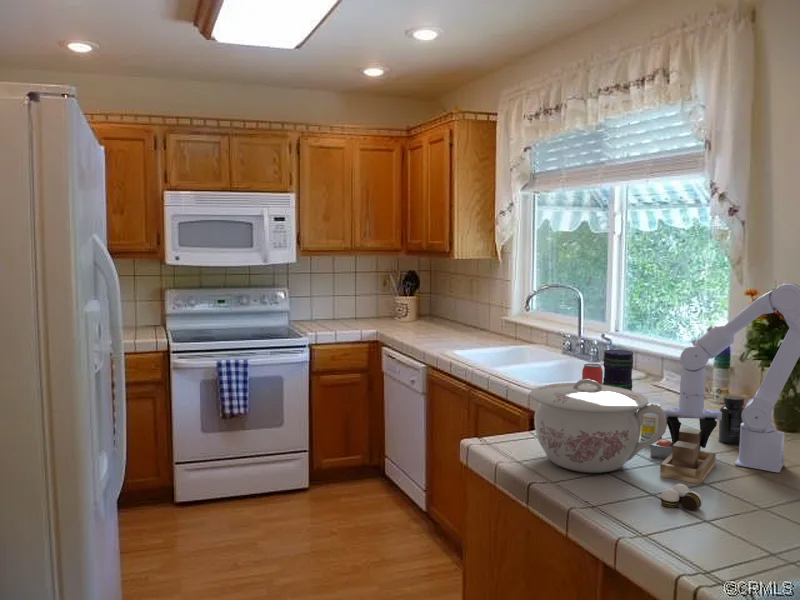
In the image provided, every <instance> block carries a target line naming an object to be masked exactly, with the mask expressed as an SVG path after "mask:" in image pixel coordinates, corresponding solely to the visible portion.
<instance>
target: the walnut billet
mask: <svg viewBox="0 0 800 600" xmlns="http://www.w3.org/2000/svg"><path fill="white" fill-rule="evenodd" d="M672 465H675V466H681V467H686V468H691V469H696V470H697V467H698V444H694V443H688V442H682V441H677V442H676V443H675V444H674V445H673V454H672Z"/></svg>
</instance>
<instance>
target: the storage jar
mask: <svg viewBox="0 0 800 600" xmlns="http://www.w3.org/2000/svg"><path fill="white" fill-rule="evenodd" d="M603 354H604V355H603V369H604V370H603V383H602V384H603V385H610V386H616V387H620V388H625V389H628V390H631V391H633V379H632V378H633V369H634V365H633V364H634V352H633V351H630V350H624V349H607V350H604V351H603Z"/></svg>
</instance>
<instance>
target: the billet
mask: <svg viewBox="0 0 800 600" xmlns="http://www.w3.org/2000/svg"><path fill="white" fill-rule="evenodd" d="M679 441H682V442H688V443H694V444H698V450H700V451H701V448H702V447H701V430H700V429H695V428H689V427H684V426H683V427H680V431H679Z"/></svg>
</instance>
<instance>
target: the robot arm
mask: <svg viewBox="0 0 800 600" xmlns="http://www.w3.org/2000/svg"><path fill="white" fill-rule="evenodd" d="M776 311H778V312H779V313H780V314H781V315H782V316H783V318H784V320H785V322H786V324H787V325H788V330H787V332H786V334H785V336H784V338H783V340H782V342H781V343H780V347H779V348H778V350H777V352H776V354H775V356H774V358H773V360H772V362H771V364H770V366H769V368H768V370H767V372H766V374H765V375H764V377H763V380H762V382H761V384H760V386H758V387H759V388H758V389H757V391H756V393H755V395H754V396H753V397H751V398H750V399H749V400H747V402H746V403H745V404H744V409H743V411H742V415H741V417H742V421H743V423H741V427H740V445H738V446H739V448H738V451H739V452H738V457H737V459H736V460H735V462H734V466H739V467H744V468H750V469H756V470H760V471H761V470H762V471H767V472H773V473H780V472H781V470H782V468H783V466H784V464H785V456H784V455H785V454H784V453H785V437H786V436H785V432H783V431H779V430H775V428H776V427H775V426H774V425H773V423H772V421H773V417H774V415H775V405H776V404H777V401H778V399H779V397H780V395H781V393H782V391H783V389H784V387H785V385H786V383H787V382H788V380H789V378H790V377H791V374H792V372H793V370H794V368H795V366H796V364H797V362H798V360H799V358H800V285H798V284H797V283H794V282H783V283H781V284H779V285H778V286H776V288H775V289H772V290H770V291H769V292H766V293H764V294H763V295H761V296H759V297H758V298H756V299H755V300H754V301H753V302H751V303H750V304H749V305H748V306H746V307H745V308H744V309H743V310H742V311H741V312H739V313H738V314H737V315H735V316H734V317H733V318H731V320H730V321H728V322H727V323H726V324H715V325H714V326H713V325H710V326H708V327H707V328H706V332H705V333H704V334H702V335H701V336H700V337H699V338H697V339H693V340H692V341H691V344H692V345H689V346H687V347H685V348H684V350H683V351H681V354H680V357H679V361H680V364H681V368H680V369H681V373H680V377H679V378H680V380H679V381H680V382H679V399H678V407H672V408H671V407H670V408H662V410H663V411H664V413H665V415H666V417H667V428H668V429H669V433H670V437H671V442H672V443H676V442H677V441H679V431H680V429H681V426H682V422H681V421H680V419H699V430H701V448H702V449H705V448H706V447H707V444H708V441H709V438H710V436H711V434H712V432H713V431H714V429H715V428H717V425H718V421H719V420H721V419H722V412H720V409H719V410H717V409H715V410H714V409H707V408H706V409H705V408H704V407H705V391H706V390H705V389H706V380H707V379H706V365H707V363H708V362H709V360H711V359H714V358H715V357H717V356H719V354H721V353H722V352H724V351H725V350H726V349H727V348H729V347H730V346H731V345H733V344H734V343H735V335H736V334H737V333H738V332H740V331H741V330H742V329H744V328H745V327H746V326H748V325H749V324H751V323H753V321H755V320H757V318H759V317H761V316H762V315H767V314H773V313H775V312H776ZM717 420H718V421H717Z"/></svg>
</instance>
